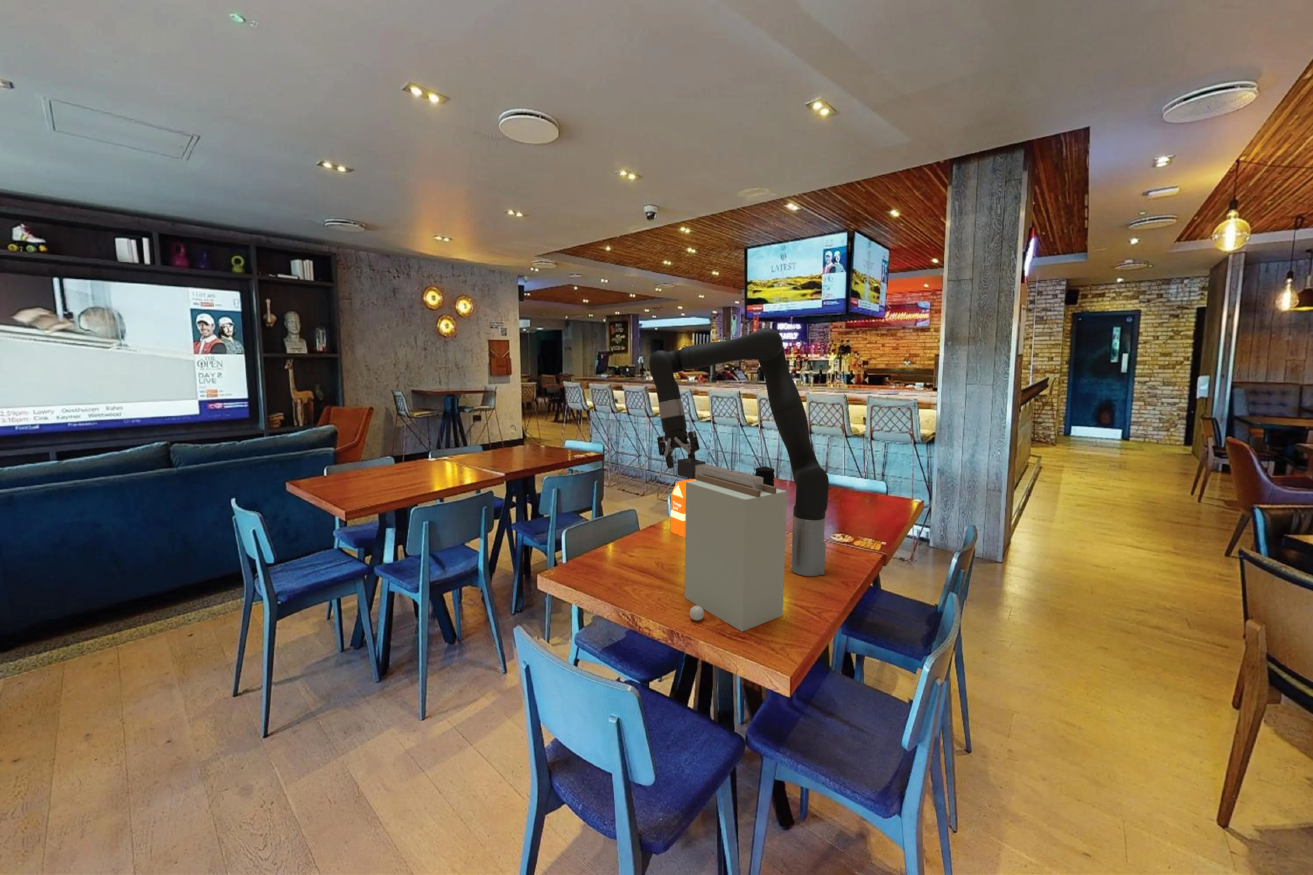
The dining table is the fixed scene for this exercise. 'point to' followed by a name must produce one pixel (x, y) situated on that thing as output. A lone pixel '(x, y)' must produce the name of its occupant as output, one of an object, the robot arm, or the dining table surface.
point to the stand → (735, 550)
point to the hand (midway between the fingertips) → (681, 467)
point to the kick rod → (717, 473)
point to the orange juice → (679, 508)
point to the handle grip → (766, 475)
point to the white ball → (696, 613)
